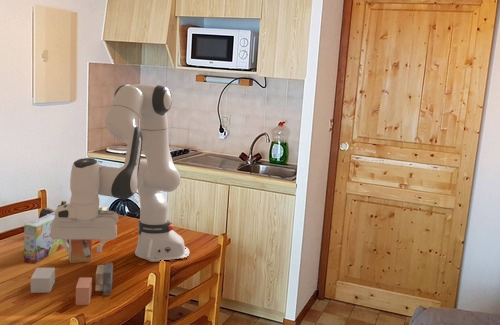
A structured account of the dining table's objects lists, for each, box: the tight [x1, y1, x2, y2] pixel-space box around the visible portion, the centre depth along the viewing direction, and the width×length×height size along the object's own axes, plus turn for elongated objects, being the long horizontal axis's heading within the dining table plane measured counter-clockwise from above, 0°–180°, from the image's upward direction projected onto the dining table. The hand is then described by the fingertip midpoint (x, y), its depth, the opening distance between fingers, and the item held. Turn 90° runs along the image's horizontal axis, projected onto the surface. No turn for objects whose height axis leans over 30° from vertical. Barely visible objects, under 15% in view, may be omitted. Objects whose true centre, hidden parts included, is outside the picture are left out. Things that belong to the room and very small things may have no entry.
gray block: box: [30, 267, 56, 294], centre depth 175 cm, size 6×9×5 cm, turn 11°
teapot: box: [38, 200, 67, 219], centre depth 232 cm, size 21×12×15 cm, turn 141°
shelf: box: [94, 262, 114, 296], centre depth 177 cm, size 26×10×8 cm, turn 101°
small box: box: [68, 239, 93, 264], centre depth 202 cm, size 8×6×10 cm
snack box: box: [23, 212, 66, 264], centre depth 206 cm, size 21×6×15 cm, turn 168°
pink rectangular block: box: [75, 277, 93, 306], centre depth 168 cm, size 4×8×7 cm, turn 11°
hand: (84, 251), depth 166 cm, fingers open, 8 cm apart
